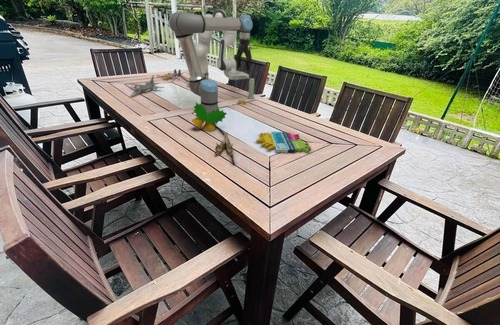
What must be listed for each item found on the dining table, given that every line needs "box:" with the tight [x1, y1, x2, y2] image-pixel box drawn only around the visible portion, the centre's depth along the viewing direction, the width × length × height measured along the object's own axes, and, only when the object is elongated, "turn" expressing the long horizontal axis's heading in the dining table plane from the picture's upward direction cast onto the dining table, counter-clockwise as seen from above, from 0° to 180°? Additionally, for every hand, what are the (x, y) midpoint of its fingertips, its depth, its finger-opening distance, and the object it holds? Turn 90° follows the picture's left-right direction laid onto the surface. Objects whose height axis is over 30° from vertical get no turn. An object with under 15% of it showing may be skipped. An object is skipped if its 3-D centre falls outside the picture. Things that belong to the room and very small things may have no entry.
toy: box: [155, 68, 182, 81], centre depth 281 cm, size 28×7×30 cm
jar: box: [247, 77, 256, 100], centre depth 228 cm, size 5×5×17 cm
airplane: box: [130, 74, 165, 97], centre depth 228 cm, size 38×32×10 cm
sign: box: [256, 131, 312, 154], centre depth 152 cm, size 26×2×30 cm
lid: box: [238, 99, 246, 105], centre depth 217 cm, size 6×6×2 cm
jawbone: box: [214, 131, 234, 156], centre depth 136 cm, size 9×15×10 cm
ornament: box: [191, 102, 228, 132], centre depth 162 cm, size 21×8×15 cm, turn 105°
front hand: (243, 68), depth 204 cm, fingers open, 13 cm apart
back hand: (243, 78), depth 234 cm, fingers open, 8 cm apart
